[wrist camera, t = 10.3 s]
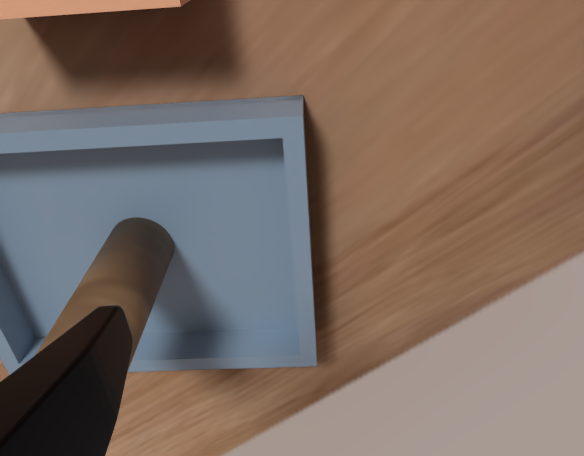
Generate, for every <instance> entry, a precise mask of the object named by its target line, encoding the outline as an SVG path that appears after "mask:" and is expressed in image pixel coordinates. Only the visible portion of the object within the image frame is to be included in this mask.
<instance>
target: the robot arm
mask: <svg viewBox="0 0 584 456" xmlns="http://www.w3.org/2000/svg"><path fill="white" fill-rule="evenodd" d="M132 347H133V338H132V334H131V330H130V327H129V324H128V321H127V318H126V315H125V312H124V310H123V308H122V307H121V306H119V305H108V306H100V307H98V308H96V309H95V310H93V311H92V312H91V313H90V314H88V315H87V316H86V317H84V318H83V319H82V320H80V321H79V322H78V323H77V324H75V325H74V326H73V327H71V328H70V329H69V330H67V331H66V332H65V333H64V334H62V335H61V336H60V337H58V338H57V339H56V340H54V341H53V342H52V343H50V344H49V345H48V346H47V347H45V348H44V349H43V350H41V351H40V352H39V353H37V354H36V355H35V356H34V357H32V358H31V359H30V360H28V361H27V362H26V363H24V364H23V365H22V366H21V367H19V368H18V369H17V370H15V371H14V372H13V373H11V374H10V375H9V376H8V377H6V378H5V379H4V380H2V381H1V382H0V456H105V454H106V451H107V448H108V445H109V442H110V439H111V436H112V433H113V430H114V427H115V424H116V420H117V416H118V412H119V408H120V404H121V399H122V394H123V390H124V385H125V380H126V375H127V371H128V366H129V361H130V357H131V352H132Z"/></svg>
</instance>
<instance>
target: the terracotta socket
mask: <svg viewBox="0 0 584 456" xmlns="http://www.w3.org/2000/svg"><path fill="white" fill-rule="evenodd" d="M188 1H190V0H0V19H12V18H26V17H40V16H54V15H68V14H82V13H97V12H111V11H125V10H139V9H153V8H167V7H181V6H182V5H184V4H185V3H187V2H188Z"/></svg>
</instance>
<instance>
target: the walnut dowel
mask: <svg viewBox="0 0 584 456" xmlns="http://www.w3.org/2000/svg"><path fill="white" fill-rule="evenodd" d="M173 253H174V243H173V240H172V238H171V236H170V234H169V233H168V232H167V230H166V229H165V228H164V227H162V226H161V225H160V224H158V223H156V222H154V221H152V220H149V219H146V218H139V217H134V218H128V219H125V220H123V221H121V222H119V223H118V224H117V225H116V226H115V227H114V228H113V230H112V231H111V233H110V235H109V236H108V238H107V240H106V241H105V243H104V244H103V246H102V248H101V249H100V251H99V252H98V254H97V256H96V257H95V259H94V261H93V262H92V264H91V265H90V267H89V269H88V270H87V272H86V273H85V275H84V277H83V278H82V280H81V282H80V283H79V285H78V286H77V288H76V290H75V291H74V293H73V295H72V296H71V298H70V299H69V301H68V303H67V304H66V306H65V307H64V309H63V311H62V312H61V314H60V316H59V317H58V319H57V320H56V322H55V324H54V325H53V327H52V328H51V330H50V332H49V333H48V335H47V337H46V338H45V340H44V341H43V343H42V345H41V346H40V348H39V349H38V351H37V353H39V352H40V351H41V350H43V349H44V348H45V347H47V346H48V345H49V344H50V343H52V342H53V341H54V340H56V339H57V338H58V337H60V336H61V335H62V334H64V333H65V332H66V331H67V330H69V329H70V328H71V327H73V326H74V325H75V324H77V323H78V322H79V321H80V320H82V319H83V318H84V317H86V316H87V315H88V314H90V313H91V312H92V311H93V310H95V309H96V308H98V307H100V306H108V305H119V306H121V307H122V308H123V310H124V312H125V315H126V318H127V321H128V324H129V327H130V330H131V334H132V338H133V347H132V352H131V357H130V361H129V366H128V369H129V367H130V364H131V362H132V359H133V357H134V354H135V351H136V349H137V346H138V344H139V341H140V339H141V336H142V333H143V331H144V328H145V326H146V323H147V320H148V318H149V315H150V313H151V310H152V308H153V305H154V302H155V300H156V297H157V295H158V292H159V290H160V287H161V284H162V282H163V279H164V277H165V274H166V272H167V269H168V266H169V264H170V261H171V259H172V256H173ZM37 353H36V354H37ZM36 354H35V355H36ZM127 372H128V371H127Z"/></svg>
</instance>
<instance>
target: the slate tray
mask: <svg viewBox="0 0 584 456" xmlns="http://www.w3.org/2000/svg"><path fill="white" fill-rule="evenodd" d="M134 217H139V218H146V219H149V220H152V221H154V222H156V223H158V224H160V225H161V226H162V227H164V228H165V229H166V230H167V232H168V233H169V234H170V236H171V238H172V240H173V243H174V253H173V256H172V259H171V261H170V264H169V266H168V269H167V272H166V274H165V277H164V279H163V282H162V284H161V287H160V290H159V292H158V295H157V297H156V300H155V302H154V305H153V308H152V310H151V313H150V315H149V318H148V320H147V323H146V326H145V328H144V331H143V333H142V336H141V339H140V341H139V344H138V346H137V349H136V351H135V354H134V357H133V359H132V362H131V364H130V367H129V369H128V372H140V371H174V370H207V369H241V368H274V367H307V366H317V347H316V321H315V303H314V285H313V267H312V249H311V231H310V213H309V194H308V176H307V158H306V140H305V122H304V104H303V95H300V96H283V97H266V98H250V99H233V100H216V101H199V102H183V103H166V104H149V105H133V106H116V107H99V108H83V109H66V110H49V111H33V112H16V113H0V359H1V360H2V362H3V364H4V366H5V368H6V370H7V371H8V373H9V375H10V374H11V373H13V372H14V371H15V370H17V369H18V368H19V367H21V366H22V365H23V364H24V363H26V362H27V361H28V360H30V359H31V358H32V357H34V356H35V354H36V353H37V351H38V349H39V348H40V346H41V345H42V343H43V341H44V340H45V338H46V337H47V335H48V333H49V332H50V330H51V328H52V327H53V325H54V324H55V322H56V320H57V319H58V317H59V316H60V314H61V312H62V311H63V309H64V307H65V306H66V304H67V303H68V301H69V299H70V298H71V296H72V295H73V293H74V291H75V290H76V288H77V286H78V285H79V283H80V282H81V280H82V278H83V277H84V275H85V273H86V272H87V270H88V269H89V267H90V265H91V264H92V262H93V261H94V259H95V257H96V256H97V254H98V252H99V251H100V249H101V248H102V246H103V244H104V243H105V241H106V240H107V238H108V236H109V235H110V233H111V231H112V230H113V228H114V227H115V226H116V225H117V224H118V223H119V222H121V221H123V220H125V219H128V218H134Z"/></svg>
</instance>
